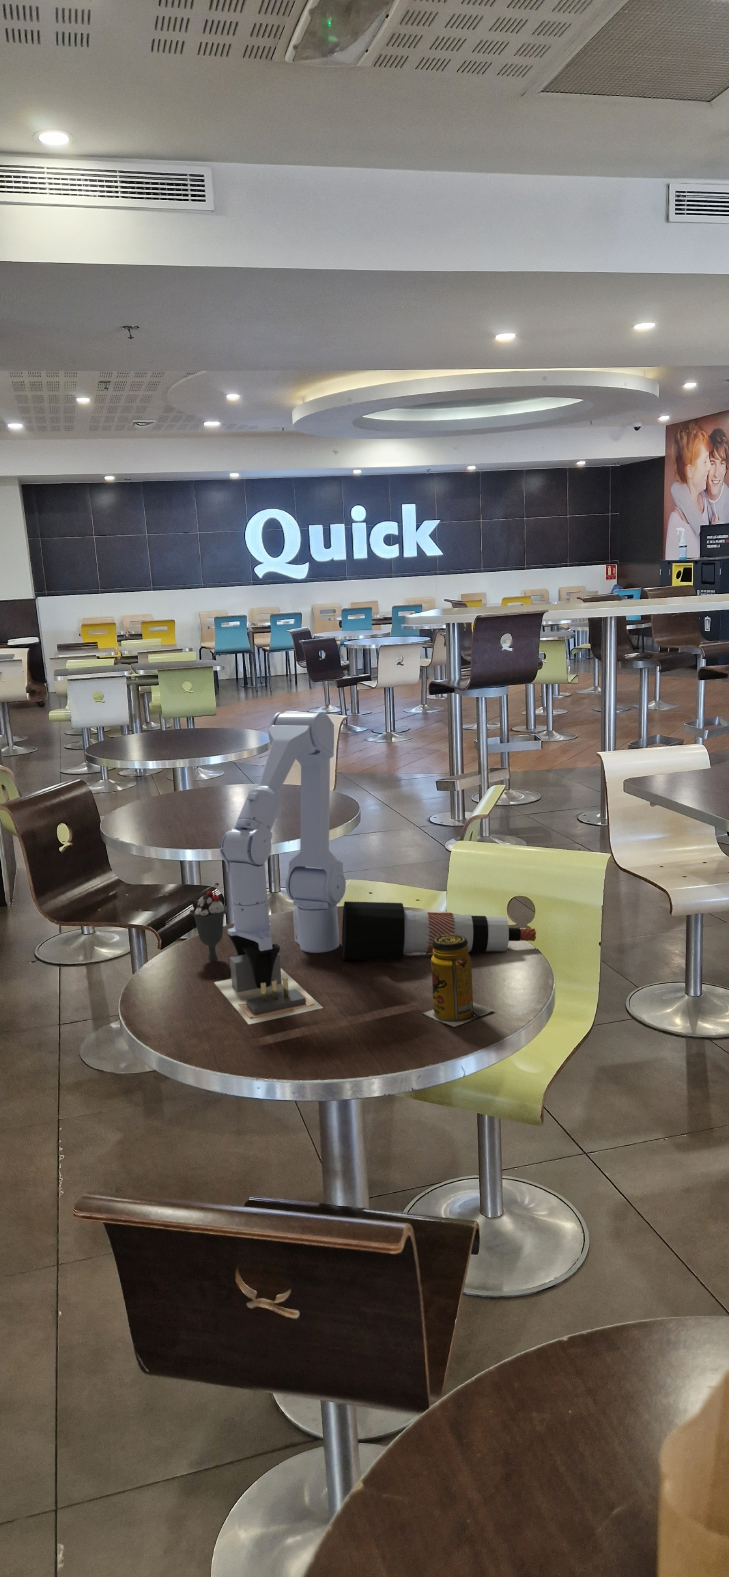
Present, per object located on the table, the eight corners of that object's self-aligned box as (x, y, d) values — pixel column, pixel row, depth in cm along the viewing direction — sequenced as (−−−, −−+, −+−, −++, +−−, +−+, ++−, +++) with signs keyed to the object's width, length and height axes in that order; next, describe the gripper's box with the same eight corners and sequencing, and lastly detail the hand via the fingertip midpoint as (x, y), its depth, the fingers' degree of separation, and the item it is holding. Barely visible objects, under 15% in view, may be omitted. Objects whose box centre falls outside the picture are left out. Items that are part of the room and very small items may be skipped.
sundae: (238, 964, 181) (231, 883, 178) (204, 973, 177) (197, 891, 174) (222, 954, 186) (215, 876, 183) (188, 963, 182) (181, 883, 180)
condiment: (421, 1014, 154) (418, 939, 152) (462, 999, 159) (459, 926, 157) (453, 1028, 148) (450, 950, 146) (495, 1012, 153) (492, 936, 151)
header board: (214, 987, 170) (211, 959, 169) (281, 973, 175) (279, 946, 174) (249, 1030, 152) (246, 999, 151) (323, 1013, 156) (321, 983, 156)
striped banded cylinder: (534, 975, 179) (544, 935, 173) (342, 971, 176) (346, 930, 170) (524, 934, 187) (534, 894, 181) (341, 930, 184) (345, 889, 178)
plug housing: (232, 986, 168) (229, 957, 167) (275, 977, 170) (273, 948, 170) (237, 992, 165) (235, 963, 164) (281, 983, 168) (279, 954, 167)
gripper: (214, 894, 170) (221, 970, 172) (239, 916, 157) (246, 998, 159) (254, 887, 173) (260, 962, 175) (282, 908, 160) (288, 989, 162)
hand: (256, 979), depth 167 cm, fingers open, 7 cm apart
